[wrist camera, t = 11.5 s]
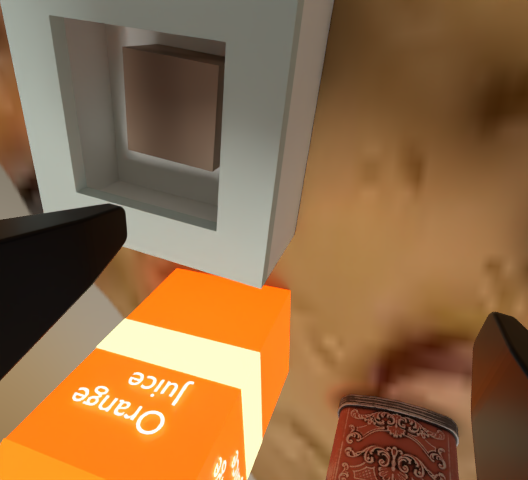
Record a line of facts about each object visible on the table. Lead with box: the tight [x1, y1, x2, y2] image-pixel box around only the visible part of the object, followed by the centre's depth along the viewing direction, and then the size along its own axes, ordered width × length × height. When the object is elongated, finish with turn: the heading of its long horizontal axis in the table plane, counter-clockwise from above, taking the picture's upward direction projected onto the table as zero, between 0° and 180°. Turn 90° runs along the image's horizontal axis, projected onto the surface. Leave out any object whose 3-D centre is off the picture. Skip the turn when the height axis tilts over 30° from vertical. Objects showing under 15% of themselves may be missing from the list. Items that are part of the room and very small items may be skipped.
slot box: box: [0, 0, 334, 289], centre depth 20 cm, size 13×13×6 cm
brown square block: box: [122, 44, 225, 172], centre depth 20 cm, size 5×5×3 cm
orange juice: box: [0, 268, 291, 480], centre depth 21 cm, size 8×9×20 cm
